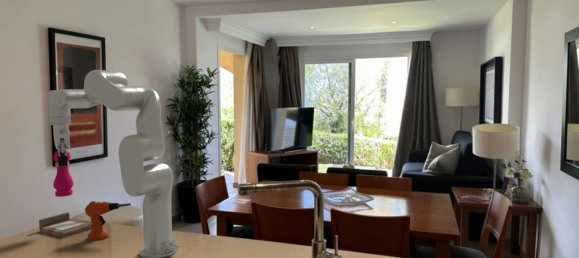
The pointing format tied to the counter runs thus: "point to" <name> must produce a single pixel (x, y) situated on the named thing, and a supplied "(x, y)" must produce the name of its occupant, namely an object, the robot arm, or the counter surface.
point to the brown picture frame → (62, 225)
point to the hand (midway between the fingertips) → (62, 164)
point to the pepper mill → (63, 178)
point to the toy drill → (99, 217)
